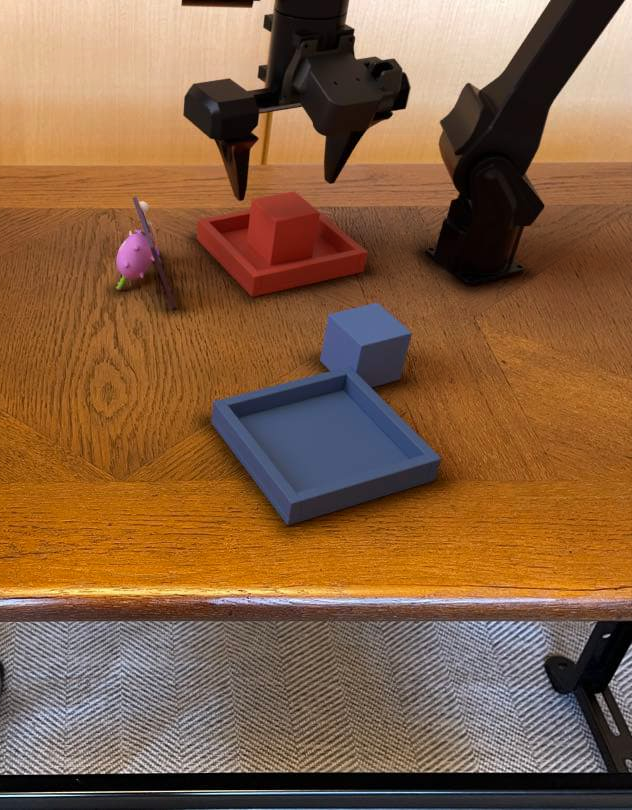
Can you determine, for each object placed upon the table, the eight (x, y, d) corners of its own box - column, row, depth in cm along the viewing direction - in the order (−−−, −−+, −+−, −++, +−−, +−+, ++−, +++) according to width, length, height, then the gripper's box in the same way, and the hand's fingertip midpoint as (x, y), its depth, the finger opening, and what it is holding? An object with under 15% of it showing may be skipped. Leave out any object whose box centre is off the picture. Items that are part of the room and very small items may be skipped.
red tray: (300, 217, 93) (303, 198, 91) (363, 272, 85) (368, 251, 83) (196, 238, 89) (197, 219, 88) (251, 297, 82) (254, 276, 80)
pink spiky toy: (162, 242, 76) (143, 192, 82) (103, 265, 76) (89, 213, 83) (185, 305, 80) (165, 252, 87) (128, 326, 80) (113, 272, 87)
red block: (287, 233, 89) (294, 190, 86) (312, 256, 86) (320, 212, 83) (246, 242, 88) (251, 199, 85) (270, 265, 84) (276, 221, 82)
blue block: (367, 348, 76) (377, 302, 73) (400, 380, 72) (412, 332, 69) (319, 360, 74) (328, 314, 71) (351, 393, 71) (361, 345, 68)
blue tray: (345, 387, 72) (350, 365, 70) (435, 481, 64) (442, 458, 62) (210, 422, 68) (213, 401, 67) (287, 526, 60) (291, 503, 59)
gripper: (255, 56, 65) (234, 252, 75) (474, 25, 70) (427, 212, 80) (186, 10, 73) (175, 193, 83) (387, -15, 78) (354, 160, 88)
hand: (284, 190), depth 83 cm, fingers open, 9 cm apart
